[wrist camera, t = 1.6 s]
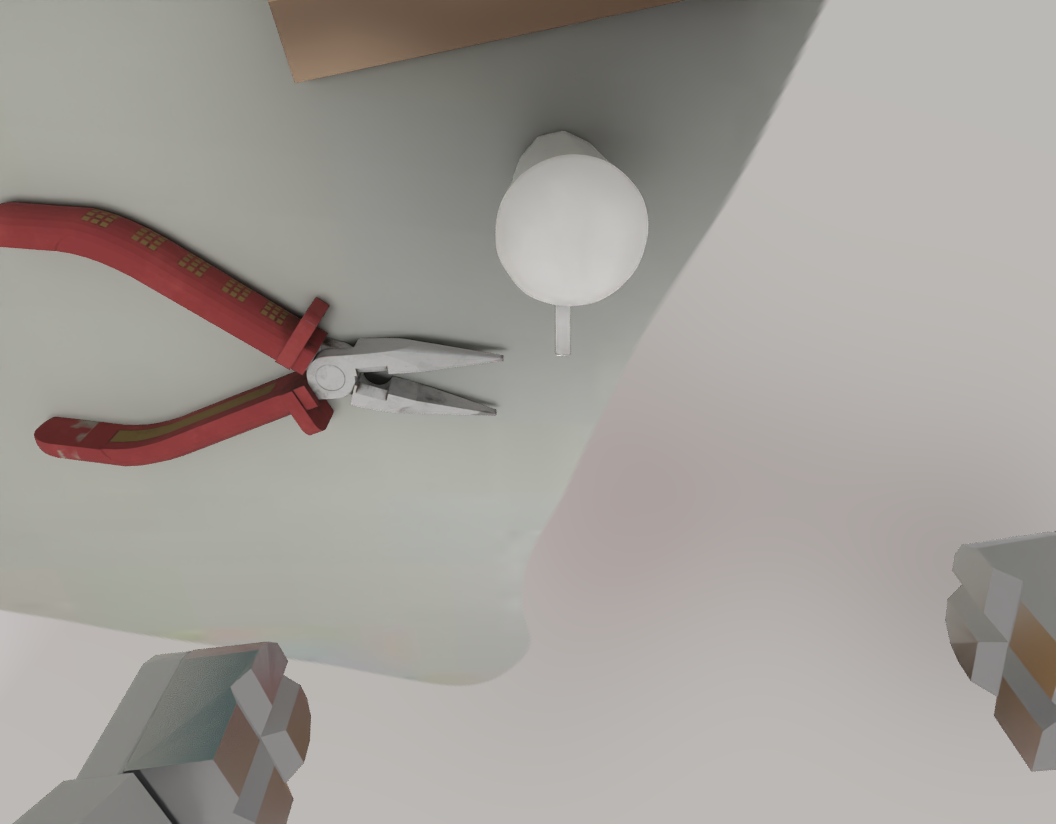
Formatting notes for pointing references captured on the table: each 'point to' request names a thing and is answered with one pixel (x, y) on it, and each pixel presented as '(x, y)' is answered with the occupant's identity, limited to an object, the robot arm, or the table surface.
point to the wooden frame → (416, 27)
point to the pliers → (245, 316)
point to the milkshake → (569, 227)
